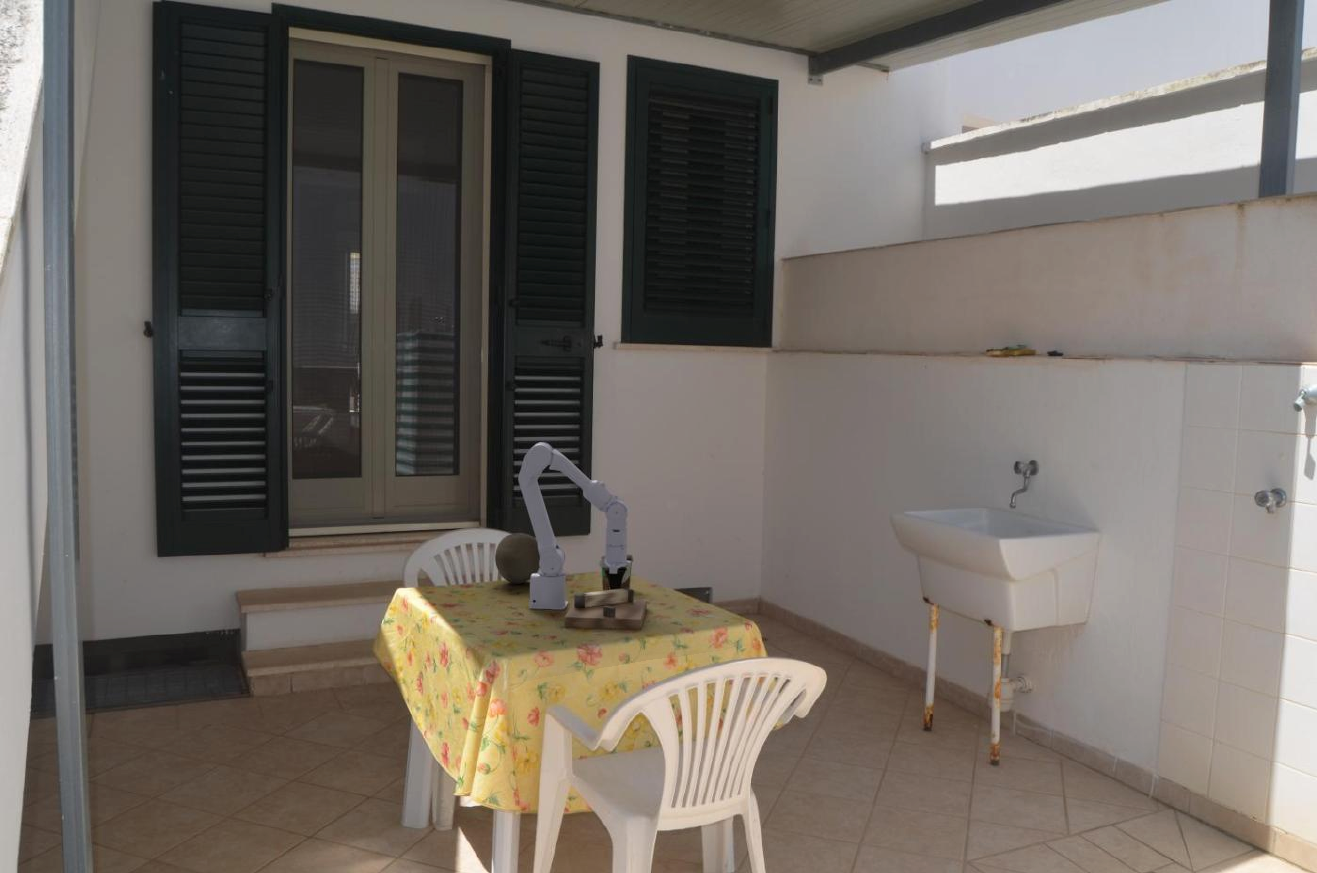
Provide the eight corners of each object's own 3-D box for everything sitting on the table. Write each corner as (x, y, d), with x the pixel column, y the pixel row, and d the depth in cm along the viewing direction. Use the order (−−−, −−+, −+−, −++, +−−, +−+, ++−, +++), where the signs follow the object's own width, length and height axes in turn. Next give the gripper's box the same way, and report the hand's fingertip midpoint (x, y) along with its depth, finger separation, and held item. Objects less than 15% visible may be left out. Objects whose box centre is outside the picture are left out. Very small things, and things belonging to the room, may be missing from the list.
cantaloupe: (487, 581, 315) (487, 531, 314) (531, 577, 322) (532, 528, 321) (504, 591, 303) (505, 539, 302) (550, 586, 310) (550, 535, 309)
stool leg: (577, 608, 273) (577, 596, 273) (572, 606, 276) (572, 593, 276) (633, 601, 282) (633, 589, 282) (627, 599, 285) (627, 587, 284)
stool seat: (564, 627, 265) (564, 607, 264) (576, 606, 287) (576, 588, 286) (640, 629, 264) (640, 610, 263) (646, 608, 286) (646, 590, 285)
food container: (616, 585, 313) (616, 552, 312) (632, 588, 309) (633, 554, 309) (589, 592, 303) (590, 558, 302) (606, 596, 299) (607, 561, 299)
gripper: (628, 550, 278) (627, 601, 279) (633, 540, 292) (632, 589, 293) (601, 549, 278) (601, 600, 279) (607, 539, 292) (606, 588, 294)
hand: (615, 594), depth 286 cm, fingers closed
